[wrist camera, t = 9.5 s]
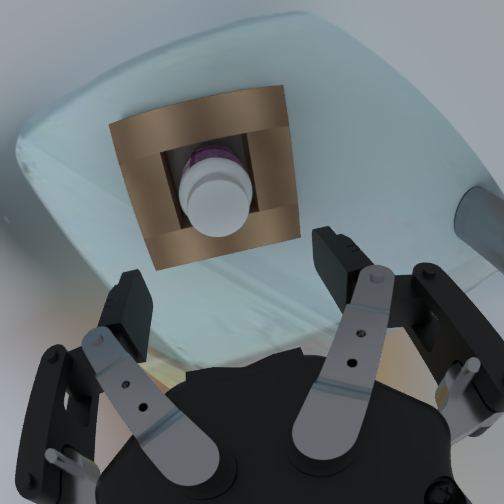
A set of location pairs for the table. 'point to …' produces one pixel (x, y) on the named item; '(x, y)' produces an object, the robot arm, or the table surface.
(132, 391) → the robot arm
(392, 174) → the table surface
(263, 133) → the well block
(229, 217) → the pill bottle
